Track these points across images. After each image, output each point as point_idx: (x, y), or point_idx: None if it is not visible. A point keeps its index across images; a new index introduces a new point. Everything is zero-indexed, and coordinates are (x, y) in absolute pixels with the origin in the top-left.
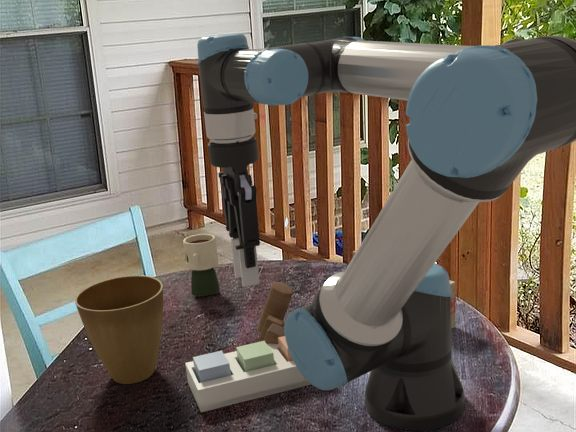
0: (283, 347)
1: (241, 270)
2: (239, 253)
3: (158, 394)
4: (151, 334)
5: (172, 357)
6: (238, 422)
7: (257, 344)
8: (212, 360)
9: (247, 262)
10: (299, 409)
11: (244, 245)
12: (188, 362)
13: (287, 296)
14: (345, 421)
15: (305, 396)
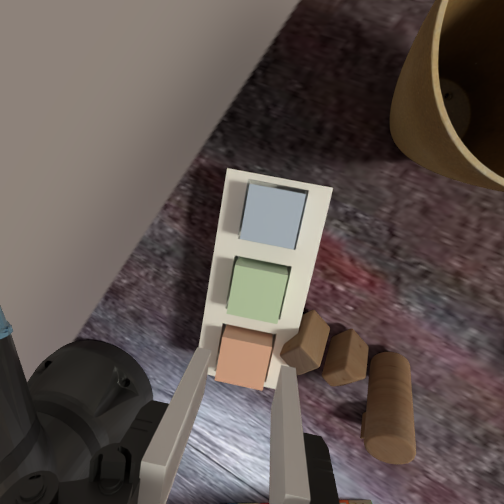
0: (245, 338)
1: (182, 382)
2: (159, 438)
3: (327, 133)
4: (403, 131)
5: (433, 202)
6: (178, 204)
7: (271, 308)
8: (269, 219)
9: (134, 420)
10: (161, 284)
11: (13, 488)
12: (330, 193)
13: (364, 437)
14: (107, 313)
15: (185, 307)
